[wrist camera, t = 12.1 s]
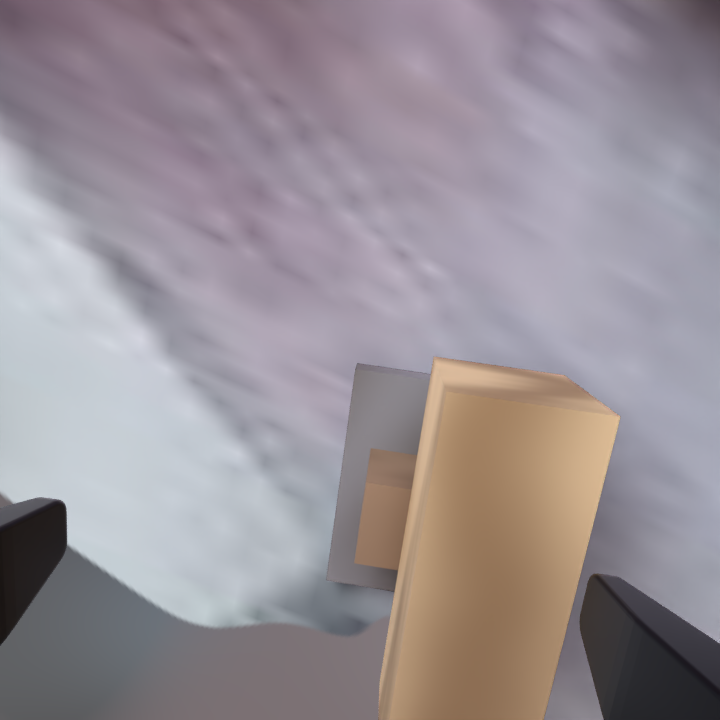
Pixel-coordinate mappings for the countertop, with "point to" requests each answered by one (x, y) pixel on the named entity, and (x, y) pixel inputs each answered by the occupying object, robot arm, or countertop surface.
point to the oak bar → (493, 542)
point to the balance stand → (377, 475)
